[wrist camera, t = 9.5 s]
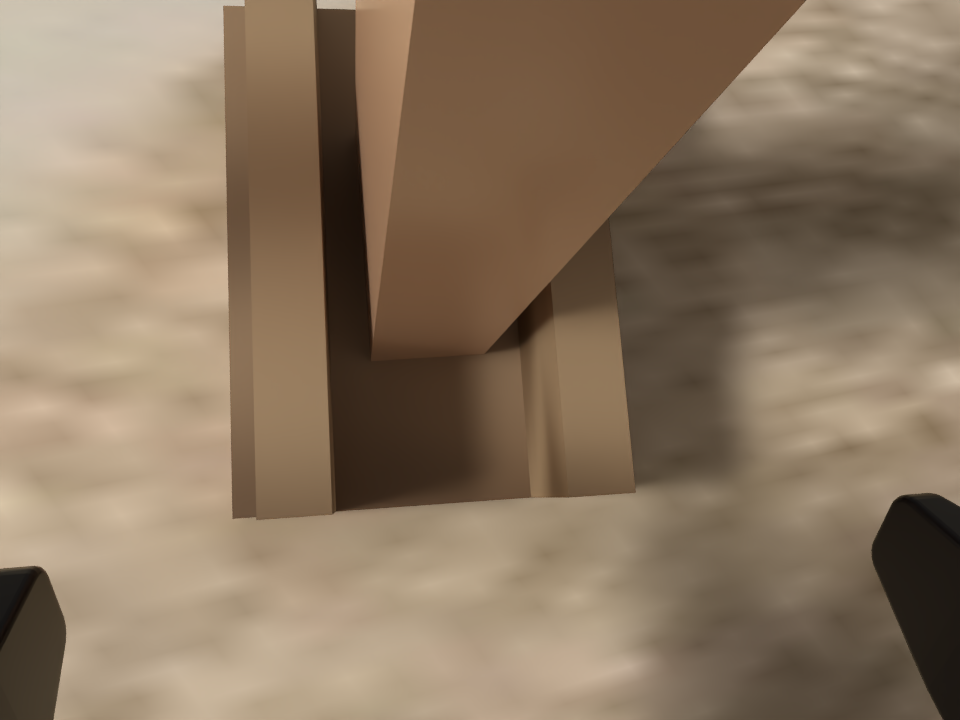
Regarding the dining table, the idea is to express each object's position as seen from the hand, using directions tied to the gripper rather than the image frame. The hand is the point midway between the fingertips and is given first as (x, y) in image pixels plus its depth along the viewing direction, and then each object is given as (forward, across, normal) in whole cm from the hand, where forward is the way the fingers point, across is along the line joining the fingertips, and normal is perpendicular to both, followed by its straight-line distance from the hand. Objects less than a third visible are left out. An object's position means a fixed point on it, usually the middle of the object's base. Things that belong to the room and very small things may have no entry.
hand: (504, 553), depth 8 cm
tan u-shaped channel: (+11, 0, +2) cm, 11 cm away
